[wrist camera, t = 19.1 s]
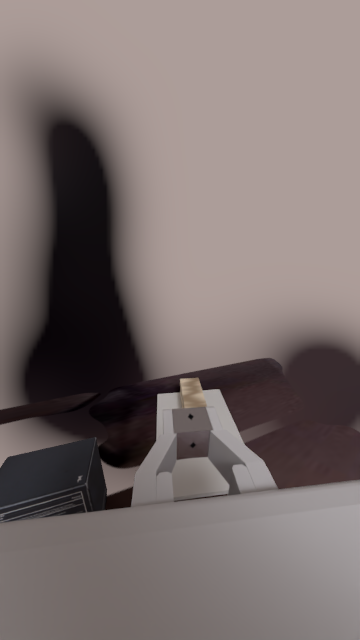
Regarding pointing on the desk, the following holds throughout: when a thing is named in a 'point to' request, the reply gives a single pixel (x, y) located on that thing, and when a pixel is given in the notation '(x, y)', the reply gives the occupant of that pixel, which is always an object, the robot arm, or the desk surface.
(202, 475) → the rubber mat
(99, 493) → the small box
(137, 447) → the desk surface
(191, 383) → the maple block
